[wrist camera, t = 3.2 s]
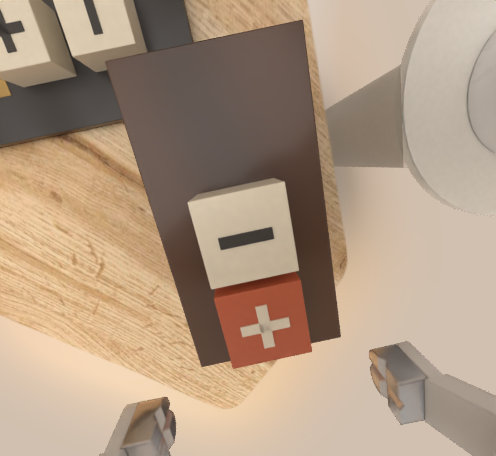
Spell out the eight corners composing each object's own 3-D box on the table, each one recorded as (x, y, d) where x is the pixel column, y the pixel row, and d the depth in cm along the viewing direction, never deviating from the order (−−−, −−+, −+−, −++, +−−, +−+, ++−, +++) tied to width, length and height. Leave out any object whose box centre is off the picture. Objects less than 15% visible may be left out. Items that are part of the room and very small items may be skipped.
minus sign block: (132, -5, 18) (112, -38, 15) (150, 61, 20) (135, 43, 17) (74, 7, 18) (43, -23, 15) (96, 72, 20) (71, 56, 17)
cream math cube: (55, 11, 18) (20, -19, 15) (77, 76, 20) (50, 60, 17) (-3, 23, 18) (-49, -4, 15) (23, 87, 19) (-14, 74, 17)
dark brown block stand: (271, 84, 21) (303, 18, 12) (301, 274, 26) (341, 337, 17) (162, 107, 21) (103, 60, 12) (213, 293, 26) (201, 367, 17)
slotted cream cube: (273, 177, 14) (285, 181, 11) (286, 250, 15) (299, 271, 12) (196, 194, 14) (186, 202, 11) (215, 265, 15) (211, 290, 12)
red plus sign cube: (287, 257, 15) (301, 280, 12) (298, 318, 16) (312, 353, 13) (217, 272, 15) (213, 299, 12) (233, 332, 16) (232, 370, 13)
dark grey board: (169, -65, 18) (165, -78, 17) (207, 104, 22) (206, 101, 20) (-140, -1, 18) (-162, -11, 17) (-56, 159, 21) (-70, 159, 20)
